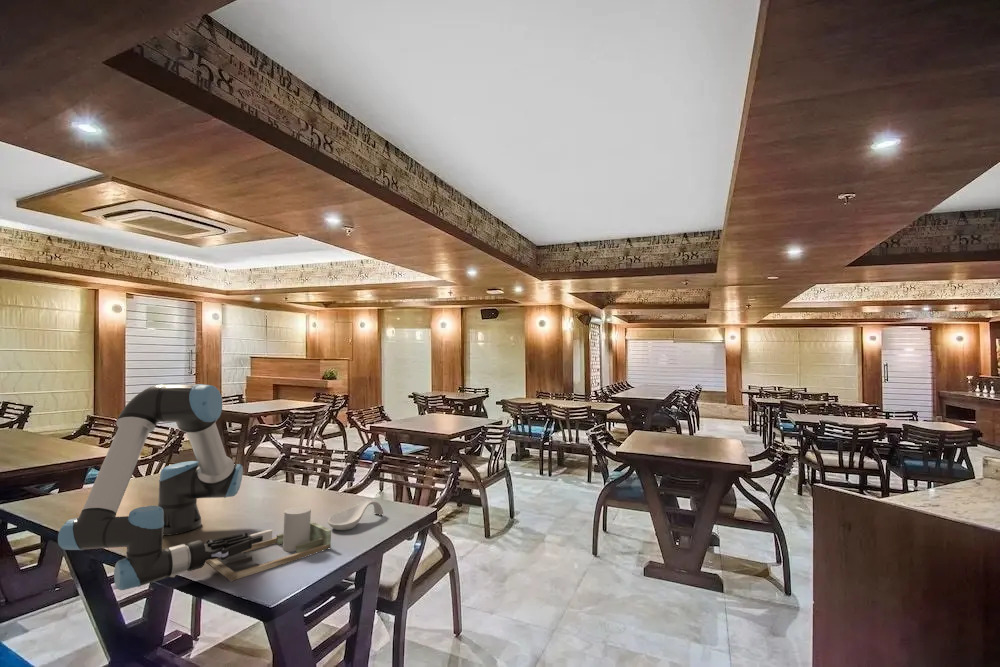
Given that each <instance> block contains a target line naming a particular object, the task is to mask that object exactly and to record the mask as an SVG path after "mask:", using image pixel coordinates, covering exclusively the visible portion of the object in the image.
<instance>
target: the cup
mask: <svg viewBox="0 0 1000 667" xmlns="http://www.w3.org/2000/svg"><path fill="white" fill-rule="evenodd" d="M283 512H284V513H283V515H284V516H283V532H282V534H283V544H282V550H283V551H284V552H287V551H288V553H294V552H293V551H296V545H299V544H303V543H306V542H309V541H310V521H311V518H312V517H311V516H312V515H311V513H312V508H311V507H309V506H302V505H301V506H300V505H299V506H294V507H289V508H286V509H285V510H284V511H283Z"/></svg>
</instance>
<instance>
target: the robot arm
mask: <svg viewBox="0 0 1000 667" xmlns="http://www.w3.org/2000/svg"><path fill="white" fill-rule="evenodd" d="M222 410H223V397H222V394H221V392H220V390H219V389H218V388H217V387H216V386H214V385H212V384H204V383H198V384H164V383H163V384H161V383H160V384H156V385H152V386H150V387H148V388H146V389H144V390H143V391H141V392H138V394H137V395H135V396H134V397H133V398H132V399H131V400H129V402H128V403H127V404H126V405H125V406H124V408H122V410H121V412H120V413H119V416H118V418H117V420H116V422H115V424H116V426H117V430H116V432H115V434H114V437H113V439H112V442H111V444H110V446H109V449H108V451H107V453H106V456H105V457H104V460H103V462H102V464H101V467H100V469H99V472H98V473H97V476H96V478H95V480H94V482H93V485H92V487H91V489H90V492H89V494H88V496H87V499H86V501H85V503H84V505H83V507H82V510H81V511H80V514H79V516H78V517H74V518H70V519H68V520H67V521H65V522H64V524H63V525H62V526H61V527H60V529H59V531H58V534H57V543H58V546H59V547H60V548H61V549H62V550H66V551H84V550H93V549H95V550H97V549H108V548H110V549H111V548H112V549H113V548H126V557H124V558H122V559H120V560H117V561H116V563H115V565H114V569H113V578H114V579H113V580H114V585H115V588H116V589H117V590H119V591H126V590H130V589H133V588H137V587H138V588H139V587H141V586H144V585H148V584H151V583H154V582H157V581H161V580H163V579H168V578H175V577H176V576H178V575H181V574H184V573H186V572H192V571H196V570H198V569H201V568H203V567H204V566H205V563H207V562H206V560H210V559H211V560H213V559H217V558H218V557H221V560H225V559H227V558H228V557H230V556H233V555H235V554H238V553H240V552H243V551H245V550H248V549H251V548H252V545H253V544H257V543H260V542H264V541H267V540H271V539H272V538H273V529H267V530H262V531H258V532H255V533H251V534H249V532H244V534H242V533H241V534H235V535H231V536H223V537H220V538H219V537H218V538H214V539H213V538H212V539H206V540H205V543H204V541H203V540H201V539H198V540H194V541H193V540H192V541H190V542H187V543H186V544H185V543H180V544H178V545H173V546H169V547H166V548H163V543H164V542H163V541H164V540H163V539H164V535H163V534H174V535H177V534H176V533H180V534H183V533H182V532H185V533H187V532H186V531H188V532H191V531H190V530H192V531H194V530H195V528H196V529H198V528H199V526H200V527H201V526H202V516H201V513H200V511H199V508H198V504H197V499H215V498H216V499H217V498H218V499H219V498H224V499H225V498H231V497H232V498H233V497H235V496H236V495H237V494H238V493H239V491H240V488H241V485H242V480H243V474H244V472H243V471H244V467H243V465H242V464H239V463H236V464H235V463H234V460H233V459H232V458H231V457H229V456H227V453H226V450H225V448H224V444H223V441H222V439H221V435H220V432H219V429H218V426H217V423H216V422H217V421H218V419H219V418H220V417H221V415H222ZM159 423H176V426H177V428H178V429H179V430H180V431H181V432H183V433H186V436H187V438H188V440H189V443H190V446H191V448H192V450H193V454H194V456H195V458H196V460H189V461H182V462H178V463H177V462H176V463H174V464H170V465H167V466H165V467H163V468H162V469H161V470H160V473H159V474H160V475H159V480H158V484H159V485H158V505H147V506H140V507H136V508H134V509H132V510H131V511H130V512H129V514H128V515H127V516H126V515H125V516H117V513H118V511H119V508H120V506H121V502H122V501H123V497H124V495H125V493H126V491H127V488H128V485H129V483H130V481H131V478H132V475H133V474H134V471H135V468H136V466H137V463H138V461H139V458H140V455H141V454H142V450H143V449H144V445H145V443H146V441H147V439H148V436H149V433H151V432H153V431H155V430H156V426H157V424H159ZM197 527H198V528H197ZM193 529H194V530H193ZM243 553H244V552H243Z"/></svg>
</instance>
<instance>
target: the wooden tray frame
mask: <svg viewBox="0 0 1000 667" xmlns="http://www.w3.org/2000/svg"><path fill="white" fill-rule="evenodd" d="M331 539H332V530H331V529H329V528H327V527H326V526H324V525H321V524H319V523H316V522H314V521H311V520H310V541H309V542H306V543H303V544H299V545H296V552H295V553H292V554H289V555H287V556H284V557H280V558H277V559H274V560H270V561H268V562H265V563H261V564H260V563H258V562H256V560H254V559H253V558H254V557H253V555H245V554H244V553H246V552H250V551H254V550H257V549H260V548H265V547H268V546H271V545H274V543H275V544H276V545H277V546H280V544H281V545H283V533H279V534H277V535H276V537H272V539H271V540H267V541H264V542H260V543H257V544H253V545H252V548H251V549H248V550H245V551H243V552H240V553H238V554H235V555H233V556H230V557H228V558H227V559H225V560H221V557H218V558H217V559H213V560H211V559H210V560H206V562H205V563H207V564H208V563H209V564H210V565H209V564H208V565H209V566H211V567H212V568H213V569H214V570H216V571H217V572H219V573H220V575H222V576H224V577H225V578H227V579H228V581H230V582H233V581H236V580H239V579H242V578H245V577H249V576H251V575H255V574H257V573H261V572H264V571H266V570H269V569H273V568H276V567H279V566H282V565H285V564H288V563H291V562H294V561H297V560H300V559H303V558H302V557H304V558H306V557H305V556H307V557H308V555H310V554H313V555H315V554H314V553H316V552H319V551H322V550H325V549H328V548H330V549H331V546H332V545H331V543H332V542H331V541H332V540H331ZM267 545H268V546H267ZM328 550H329V549H328ZM325 551H326V550H325ZM322 552H323V551H322ZM319 553H320V552H319ZM316 554H317V553H316ZM310 556H311V555H310ZM299 558H300V559H299ZM296 559H297V560H296ZM293 560H294V561H293ZM290 561H291V562H290ZM287 562H288V563H287ZM281 564H282V565H281Z"/></svg>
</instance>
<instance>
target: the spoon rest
mask: <svg viewBox="0 0 1000 667" xmlns="http://www.w3.org/2000/svg"><path fill="white" fill-rule="evenodd" d="M370 505H373V510H374V511H373V513H376V514H380V515H382V514H383V515H384V509H383V507H382V505H381V504H380V503H379V502H377V501H374V500H370V499H366V500H362V501H361V502H359V503H357V504H355V505H353V506H351V507H349V508H346V509H344V510H341V511H340V512H337V513H336V514H333V515H331V516H330V517H329V518H328V519H327V524H328V525H329V527H331V528H332V529H334V530H337V531H348V530H347V529H349V530H351V528H352V529H354V528H355V527H356V526H357V525H358V523H359V522H360V521H361V519H362V517H363V515H364V513H365V511H366V509H367V508H368V507H369V506H370ZM353 527H354V528H353Z"/></svg>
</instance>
